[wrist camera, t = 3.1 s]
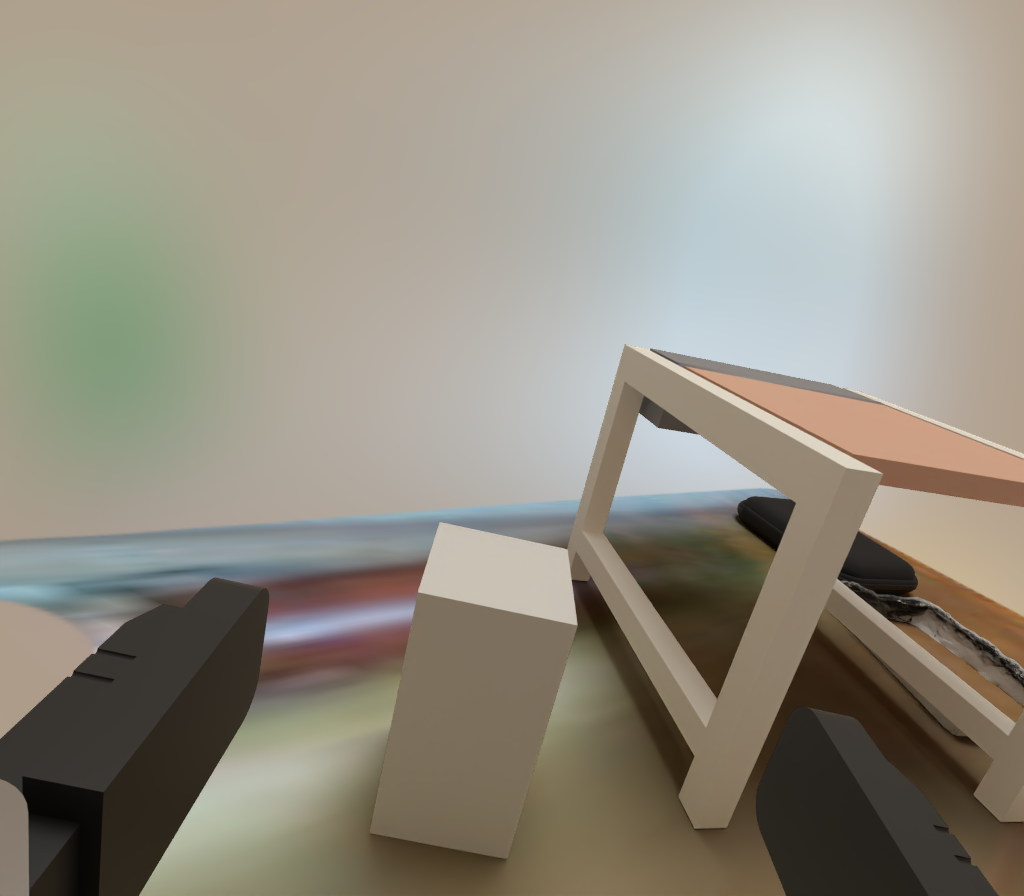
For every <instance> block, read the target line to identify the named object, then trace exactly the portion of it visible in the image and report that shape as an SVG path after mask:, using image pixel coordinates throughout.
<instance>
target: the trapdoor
mask: <svg viewBox="0 0 1024 896" xmlns="http://www.w3.org/2000/svg"><path fill="white" fill-rule="evenodd" d="M650 351H652V352H654V353H656V354H658V355H660V356H661V357H663V358H665V359H667V360H669V361H671V362H673V363H675V364H677V365H678V366H680V367H682V368H684V369H686V370H688V371H690V372H692V373H694V374H695V375H697V376H699V377H701V378H703V379H705V380H707V381H709V382H711V383H712V384H714V385H716V386H718V387H720V388H722V389H724V390H726V391H728V392H729V393H731V394H733V395H735V396H737V397H739V398H741V399H743V400H745V401H746V402H748V403H750V404H752V405H754V406H756V407H758V408H760V409H762V410H764V411H765V412H767V413H769V414H771V415H773V416H775V417H777V418H779V419H781V420H782V421H784V422H786V423H788V424H790V425H792V426H794V427H796V428H798V429H799V430H801V431H803V432H805V433H807V434H809V435H811V436H813V437H815V438H816V439H818V440H820V441H822V442H824V443H826V444H828V445H830V446H832V447H833V448H835V449H837V450H839V451H841V452H843V453H845V454H847V455H849V456H850V457H852V458H854V459H856V460H858V461H860V462H862V463H864V464H866V465H868V466H869V467H871V468H873V469H875V470H877V471H879V472H881V473H883V476H882V478H881V481H880V483H879V485H885V486H892V487H897V488H904V489H910V490H917V491H924V492H930V493H936V494H943V495H949V496H956V497H963V498H969V499H976V500H982V501H989V502H995V503H1001V504H1008V505H1014V506H1021V507H1024V460H1022V459H1020V458H1017V457H1014V456H1012V455H1009V454H1007V453H1004V452H1002V451H999V450H997V449H994V448H992V447H989V446H986V445H984V444H981V443H979V442H976V441H974V440H971V439H969V438H966V437H964V436H961V435H958V434H956V433H953V432H951V431H948V430H946V429H943V428H941V427H938V426H936V425H933V424H930V423H928V422H925V421H923V420H920V419H918V418H915V417H913V416H910V415H907V414H905V413H902V412H900V411H897V410H895V409H892V408H890V407H887V406H885V405H883V404H882V403H881V402H878V401H873V400H869V399H867V398H864V397H862V396H859V395H857V394H854V393H851V392H849V391H846V390H844V389H841V388H839V387H836V386H833V385H830V384H825V383H820V382H815V381H810V380H805V379H800V378H795V377H790V376H785V375H780V374H775V373H770V372H765V371H760V370H755V369H750V368H745V367H740V366H735V365H730V364H725V363H720V362H715V361H711V360H706V359H701V358H696V357H690V356H685V355H680V354H676V353H671V352H666V351H661V350H655V349H650ZM639 413H640V414H641V415H643V416H644V417H645V418H646V419H648V420H649V421H650V422H651V423H653V424H654V425H655V426H657V427H658V428H663V429H669V430H675V431H681V432H687V433H693V434H698V433H697V432H695V431H694V430H692V429H691V428H690V427H688V426H687V425H685V424H684V423H683V422H681V421H680V420H678V419H677V418H676V417H674V416H673V415H671V414H670V413H669V412H667V411H666V410H664V409H663V408H661V407H660V406H659V405H657V404H656V403H654V402H653V401H652V400H650V399H649V398H647V397H646V396H645V395H644V397H643V400H642V404H641V407H640V410H639ZM699 435H700V434H699Z"/></svg>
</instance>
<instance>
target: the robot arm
mask: <svg viewBox="0 0 1024 896" xmlns="http://www.w3.org/2000/svg"><path fill="white" fill-rule="evenodd" d="M268 605H269V592H268V590H267V589H266V588H261V587H257V586H252V585H248V584H243V583H238V582H234V581H229V580H224V579H220V578H213V579H211V580H210V581H209V582H208V583H207V584H206V585H205V586H204V587H203V588H202V589H201V590H200V591H199V592H198V593H197V594H196V595H195V596H194V597H193V598H192V599H191V600H190V601H189V602H188V603H187V604H186V605H185V607H184V608H179V607H174V606H169V605H165V604H163V605H161V606H159V607H157V608H155V609H153V610H151V611H149V612H146V613H144V614H142V615H140V616H138V617H136V618H134V619H132V620H130V621H128V622H126V623H124V624H123V625H122V626H121V627H120V628H119V629H118V630H117V631H116V632H115V633H114V634H113V635H112V636H110V637H109V638H108V639H107V640H106V641H105V642H104V643H103V644H102V645H101V646H100V647H99V648H98V650H97V652H96V654H91V655H90V656H89V657H88V658H87V659H86V660H85V661H84V662H83V663H81V664H80V665H79V666H78V667H77V668H76V669H75V670H74V672H73V675H72V676H71V677H67V678H65V679H64V680H63V681H62V682H61V683H60V684H59V685H58V686H57V687H56V688H55V689H54V690H52V691H51V692H50V693H49V694H48V695H47V696H46V697H45V698H44V699H43V700H42V701H41V702H40V703H39V704H37V705H36V706H35V707H34V708H33V709H32V710H31V711H30V712H29V713H28V714H27V715H26V716H25V717H23V718H22V720H20V721H19V722H18V723H17V724H16V725H15V726H14V727H13V728H12V729H11V730H10V731H9V732H7V733H6V734H5V735H4V736H3V737H2V738H1V739H0V896H139V894H140V893H141V891H142V889H143V888H144V886H145V884H146V883H147V881H148V879H149V878H150V876H151V874H152V873H153V871H154V869H155V868H156V866H157V864H158V863H159V861H160V859H161V858H162V856H163V854H164V853H165V851H166V849H167V848H168V846H169V844H170V843H171V841H172V839H173V838H174V836H175V834H176V833H177V831H178V829H179V828H180V826H181V824H182V823H183V821H184V819H185V818H186V816H187V814H188V813H189V811H190V809H191V808H192V806H193V804H194V803H195V801H196V799H197V798H198V796H199V794H200V793H201V791H202V789H203V788H204V786H205V784H206V783H207V781H208V779H209V778H210V776H211V774H212V773H213V771H214V769H215V768H216V766H217V764H218V763H219V761H220V759H221V758H222V756H223V754H224V753H225V751H226V749H227V748H228V746H229V744H230V743H231V741H232V739H233V738H234V736H235V734H236V732H237V731H238V729H239V727H240V726H241V724H242V722H243V721H244V719H245V717H246V715H247V712H248V710H249V708H250V705H251V703H252V700H253V697H254V694H255V691H256V687H257V683H258V678H259V672H260V665H261V657H262V650H263V642H264V635H265V628H266V620H267V613H268ZM756 814H757V821H758V825H759V829H760V832H761V834H762V837H763V839H764V842H765V844H766V847H767V849H768V851H769V854H770V856H771V859H772V861H773V864H774V866H775V869H776V871H777V874H778V876H779V879H780V881H781V884H782V886H783V888H784V891H785V893H786V896H998V894H997V893H996V892H995V890H994V889H993V888H992V886H991V885H990V883H989V882H988V881H987V879H986V878H985V877H984V875H983V874H982V873H981V871H980V870H979V868H978V867H977V866H973V865H971V861H970V860H971V858H970V856H969V855H968V853H967V852H966V851H965V849H964V848H963V847H962V845H961V844H960V843H959V841H958V840H957V838H956V837H955V836H954V835H951V834H949V832H948V829H949V828H948V826H947V825H946V823H945V822H944V821H943V819H942V818H941V817H940V815H939V814H938V813H937V811H936V810H935V809H934V807H933V806H932V804H931V803H930V802H929V800H928V799H927V798H926V796H925V795H924V794H923V792H922V791H920V790H919V789H918V788H917V787H916V786H915V785H914V784H913V783H912V782H911V781H910V780H909V779H907V778H906V777H905V776H904V775H903V774H902V773H901V772H900V771H899V770H898V769H897V768H896V767H894V766H893V765H892V764H891V763H890V762H889V761H888V760H886V758H885V757H884V756H883V754H882V753H881V751H880V750H879V749H878V747H877V746H876V744H875V743H874V742H873V740H872V739H871V737H870V736H869V734H868V733H867V732H866V730H865V729H864V727H863V726H862V725H861V724H860V722H859V721H857V720H856V719H855V718H853V717H850V716H846V715H841V714H836V713H832V712H827V711H823V710H818V709H813V708H809V707H804V706H802V707H799V708H797V709H795V710H794V711H793V712H792V714H791V715H790V717H789V719H788V721H787V723H786V726H785V728H784V730H783V732H782V734H781V737H780V739H779V741H778V743H777V745H776V748H775V750H774V752H773V754H772V756H771V758H770V761H769V763H768V765H767V767H766V769H765V772H764V774H763V776H762V778H761V780H760V783H759V786H758V790H757V796H756Z"/></svg>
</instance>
